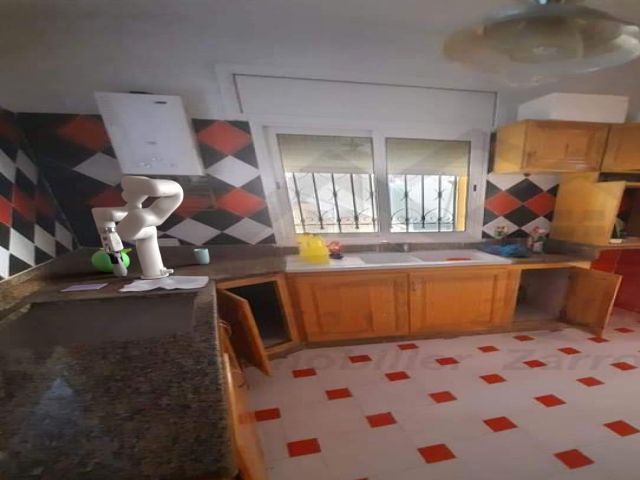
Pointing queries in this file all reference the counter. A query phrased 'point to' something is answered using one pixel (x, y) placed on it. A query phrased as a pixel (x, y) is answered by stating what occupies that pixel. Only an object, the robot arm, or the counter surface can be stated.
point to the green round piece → (107, 260)
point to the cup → (201, 256)
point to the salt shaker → (119, 267)
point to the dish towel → (84, 287)
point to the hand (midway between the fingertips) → (117, 262)
